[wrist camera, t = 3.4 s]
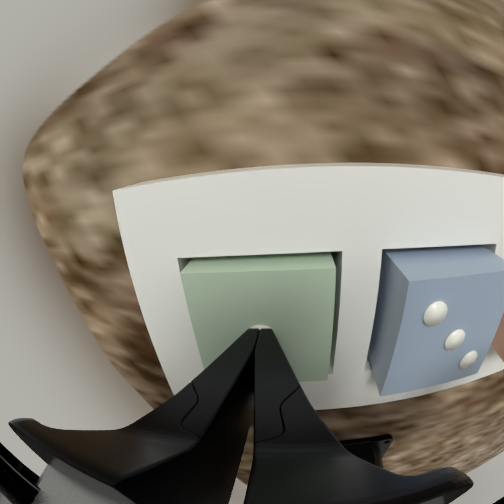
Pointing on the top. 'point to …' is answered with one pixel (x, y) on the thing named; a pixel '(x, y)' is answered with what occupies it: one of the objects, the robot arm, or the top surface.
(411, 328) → the button three dots
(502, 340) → the button two dots
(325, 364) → the button one dot
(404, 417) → the top surface
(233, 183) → the button panel
